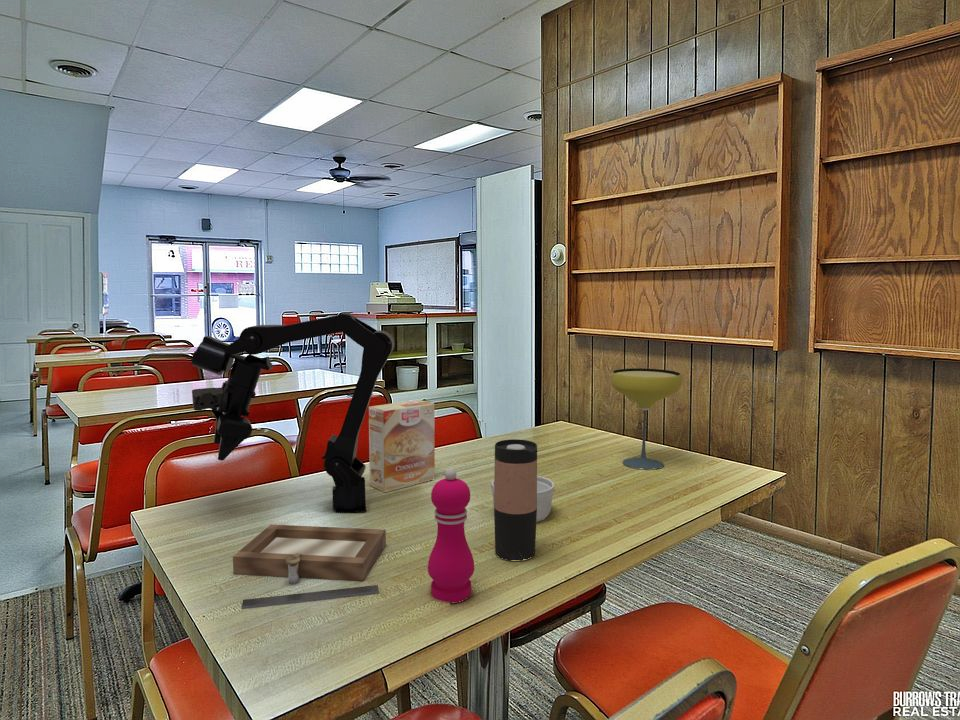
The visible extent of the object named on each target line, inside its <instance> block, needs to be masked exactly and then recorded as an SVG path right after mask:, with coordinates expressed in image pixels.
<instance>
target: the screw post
mask: <svg viewBox="0 0 960 720" xmlns="http://www.w3.org/2000/svg"><path fill="white" fill-rule="evenodd" d="M287 578H288V584H289V585H297V584H299V582H300V578H299V567H298V563H297V564H293V565H289V564H288V577H287Z"/></svg>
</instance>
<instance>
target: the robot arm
mask: <svg viewBox="0 0 960 720" xmlns="http://www.w3.org/2000/svg"><path fill="white" fill-rule="evenodd" d="M338 333H343V334H344V335H345V336H347V337H348V338H349V339H351V341H353V342H354V343H356V344H357V345H359V346H360V347H361V348H363V350H362V357H361V367H360V368H361V371H360V374H359V377H358V379H357V382H356V386H355V388H354V390H353V391H354V392H353V394H352V397H351V400H350V402H349V406H348V409H347V411H346V414H345V417H344V421H343V423H342V426H341V430H340V432H339V434H338V435H336V434H334V433H333V434H332V435H331V437H330V438H328V440H327V443H326V449H325V453H324V454H323V456H322V457H321V459H322V460H323V468H324V471H325V472H326V473H327V474H328V476H330V477H331V478H332V480H333V483H334V485H333V486H332V488H331V489H332V491H331V492H332V509H334V512H335V514H352V513H353V514H354V513H362V512H367V510H368V509H367V503H366V502H367V501H366V478H365V476H363V475H364V473H365V471H366V467H367V466H366V465H365V463H363V461H361V459H359V458H358V457H357V453H358V452H357V451H358V443H359V442H358V440H359V435H360V434H359V433H360V430H361V427H362V425H363V422H364V419H365V416H366V413H367V410H368V408H369V404H370V401H371V399H372V398H371V397H372V396H373V392H374V390H375V386H376V383H377V381H378V377H379V375H380V373H381V372H382V370H383V368H384V367H385V365H386V363H387V362H388V359H389V357H390V356H391V354H392V352H393V350H394V348H395V339H394V337H393V336H392V334H391V333H389V332H388V331H386V330H382V329H380V330H377V329H376V328H374V327H372V326H371V325H369V324H367V323H366V322H365V321H362V320H361V319H358V318H357V317H356V316H354V315H353V314H352V313H351V312H341V313H339V314H336V315H332V316H326V317H321V318H316V319H310V320H306V321H301V322H296V323H292V324H291V323H290V324H258V325H253V326H248V327H245V328H244V329H243V330H242V331H241V333H239V338H238V339H236V340H235V341H233V342H230V343H226V342H224V341H221V340H218V339H217V338H215V337H212V336H210V335H206V336H203V339H202V341H201V342H200V343H199V344H198V346H197V348H196V349H195V351H194V352H193V354H192V355H193V356H192V358H191V365H192V366H193V367H195V368H199V369H201V370H203V371H207V372H209V373H212V374H215V375H219V376H221V375H222V374H223V373H224V372H225V373H228V372H229V376H228V379H227V380H225V381H224V382H222V385H221V387H207V388H206V387H205V388H203V387H202V388H195V389H192V390H191V397H192V408H193V410H194V411H195V412H196V411H199V412H200V411H203V410H207V409H211V412H212V413H213V415H214V417H215V427H214V439H213V443H214V444H216V445H219V448H218V454H217V460H218V461H223V462H224V460H226V458H228V456H229V455H230V454H231V453H232V452H233V451H234V450H235V449H236V448H237V447H238V446H239V445H241V444H242V443H243V442H244V441H245V440H247V439H248V438H250V437H251V435H252V432H253V426H252V423H251V421H250V420H249V419H248V418H247V417H249V415H250V410H249V408H250V406H251V402H252V399H255V397H256V395H257V393H256V387H257V384H258V382H259V379H260V376H261V373H262V371H263V370H265V371H270V370H272V369H274V367H275V365H274V364H273V363H272V362H271V360H270V357H269V356H265V357H263V358H262V357H259V356H256V355H260V354H262V353H264V352H268V351H271V350H273V349H275V348H278V347H280V346H283V345H285V344H288V343H292V342H298V341H302V340H303V341H304V340H308V339H312V338H317V337H323V336H327V335H328V336H329V335H333V334H338ZM240 353H246V354H247V355H246V356H245V355H241V354H240Z"/></svg>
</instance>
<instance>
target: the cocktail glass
mask: <svg viewBox="0 0 960 720" xmlns="http://www.w3.org/2000/svg"><path fill="white" fill-rule="evenodd" d="M610 381H611V386H612V387H613V388H614V389H615V391H617V392H618V393H620V394H622V396H623V395H624V396H625V397H627V398H628V399H631V400H632V401H634V402H635V403H636V404H637V405H638V407H639V408H640V409H641V410H642V411H643V424H642V443H641V452H640V457H631V458H626V459H624V460H623V461H622V464H623V465H624V466H625V465H626V467H627V466H629V467H628V468H630V467H634V468H643V469H653V468H660V467H662V468H664V467H663V465H664V466H665V463H663V462H662V461H660V460H657V459H653V458H648V457H647V453H646V452H647V451H646V431H647V430H646V429H647V427H646V425H647V424H646V423H647V422H646V421H647V420H646V419H647V411H649V410H650V409H651V408H652V407H653V405H654V404H655V403H657V402H658V401H661V400H664V399H666V398H668V397H670V396H672V395H675V393H676V392H678V391H679V390H680V388H681V386H682V382H683V380H682V374H681V373H680V372H678V371H675V370H669V369H659V368H643V367H642V368H638V367H637V368H636V367H635V368H633V367H632V368H619V369H614V370H613V371H612V372H611V376H610ZM634 468H633V469H634ZM660 469H661V468H660Z"/></svg>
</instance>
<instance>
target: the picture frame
mask: <svg viewBox="0 0 960 720" xmlns="http://www.w3.org/2000/svg"><path fill="white" fill-rule="evenodd" d="M386 535H387V532H386V529H379V528H378V529H377V528H376V529H375V528H357V527H334V526H333V527H332V526H331V527H330V526H312V525H290V524H288V525H287V524H273V523H272V524H271V523H270V524H269V525H268V526H267V527H266V528H265V529H264V530H262V531H261V532H260V533H258V535H256V536H255V537H254V538H252V540H250V542H248V543H247V544H246V545H244V547H242V548H241V549H240V550H239V551H237V552H236V553H235V554H233V556H232V570H233V571H232V572H233V575H243V576H244V575H245V576H264V577H265V576H266V577H282V578H288V564H289V565H293V564H297V563H298V567H299V579H301V578H302V579H317V580H319V579H320V580H335V581H336V580H339V581H354V582H356V581H357V582H364V580H365V579H366V578H367V576H368V575H369V573H370V572H371V570H372V568H373V567H374V565H375V564H376V562H377V560H378V559H379V557H380V555H381V554H382V552H383V551H384V549H385V548H386V546H387V537H386Z"/></svg>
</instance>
